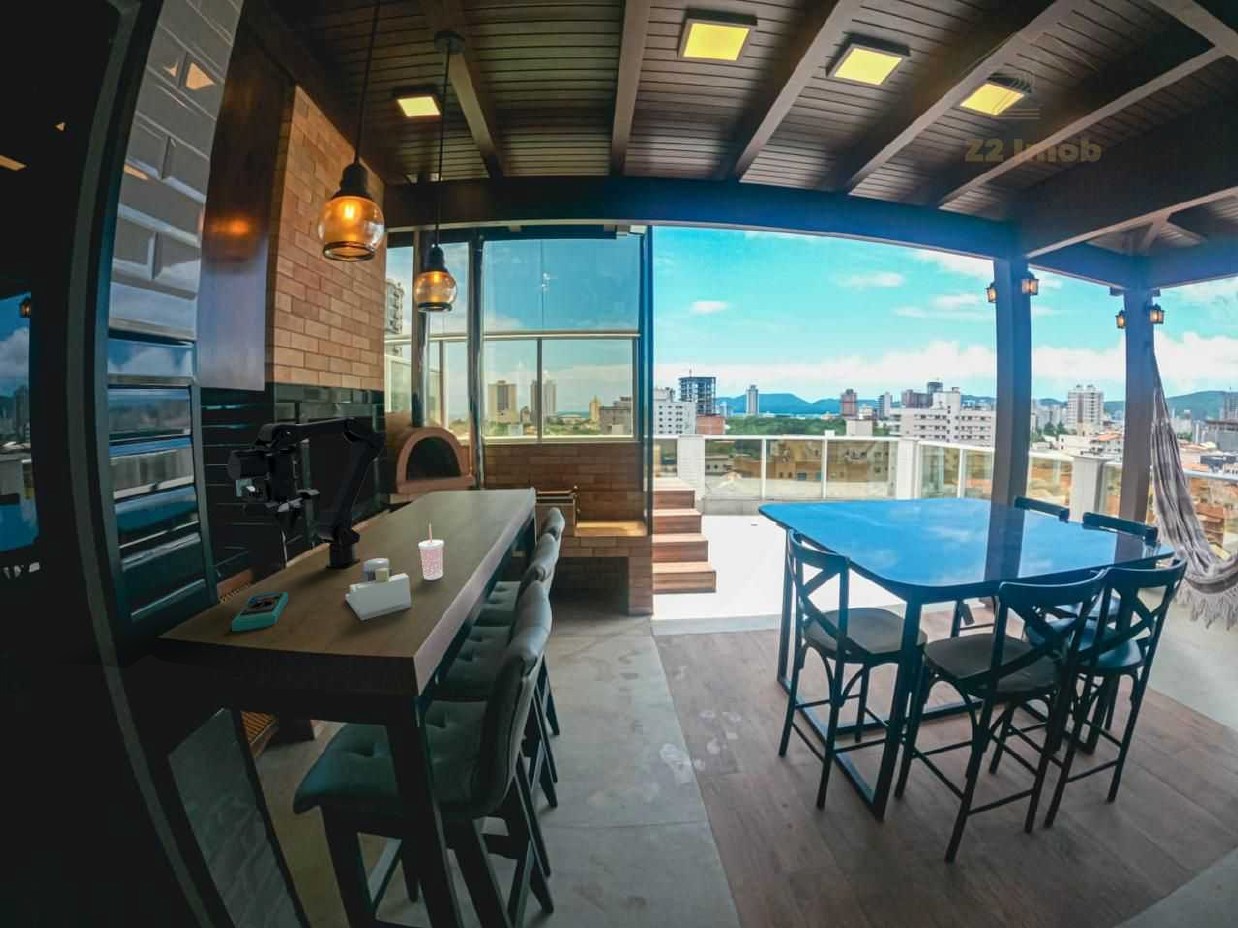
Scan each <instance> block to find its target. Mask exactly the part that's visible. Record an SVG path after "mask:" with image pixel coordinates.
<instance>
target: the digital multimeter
mask: <svg viewBox="0 0 1238 928" xmlns="http://www.w3.org/2000/svg"><path fill="white" fill-rule="evenodd" d="M279 600H280V601H279ZM288 602H289V592H285V591H275V592H266V593H261V594H257V595H253V596H251V597H250V598H249V599H248V600H247V603H246V604H245V605H244V607H243V608H242V609H241V610H240V612H238V614H237V616H235V617H234V619H233V620H232V621H231V623H230V624H231V629H232V632H242V631H247V630H248V631H249V630H254V629H261V628H265V627H270V626H274V624H275V625H276V624H277V622H278V619H279V617H280V614H281V613H282V611H283V609H284V608H285V606H286V605H287V603H288Z"/></svg>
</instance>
